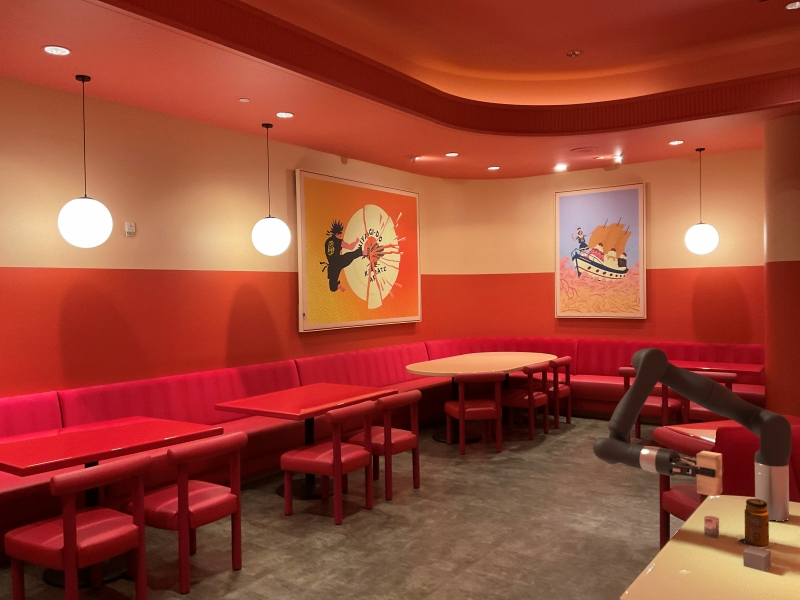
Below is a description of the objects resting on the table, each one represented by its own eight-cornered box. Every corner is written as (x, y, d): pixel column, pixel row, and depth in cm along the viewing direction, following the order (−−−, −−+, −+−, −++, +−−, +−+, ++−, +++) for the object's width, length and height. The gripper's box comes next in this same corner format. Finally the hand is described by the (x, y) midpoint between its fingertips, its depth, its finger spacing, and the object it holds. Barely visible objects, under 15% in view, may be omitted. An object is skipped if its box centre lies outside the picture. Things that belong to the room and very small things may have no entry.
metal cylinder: (707, 531, 190) (707, 514, 190) (721, 535, 187) (721, 518, 187) (702, 535, 187) (701, 518, 187) (716, 538, 184) (716, 521, 184)
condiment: (775, 544, 180) (775, 502, 180) (760, 551, 175) (759, 508, 175) (749, 536, 186) (749, 495, 186) (733, 542, 181) (733, 501, 181)
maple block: (703, 488, 182) (703, 450, 182) (722, 492, 178) (721, 453, 178) (696, 492, 179) (696, 454, 178) (715, 496, 175) (715, 457, 175)
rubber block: (749, 560, 170) (749, 545, 170) (770, 566, 166) (770, 550, 166) (743, 566, 166) (743, 551, 166) (764, 572, 162) (764, 556, 162)
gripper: (648, 452, 184) (709, 463, 171) (669, 443, 194) (728, 453, 181) (648, 478, 184) (709, 490, 171) (669, 467, 194) (729, 479, 181)
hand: (719, 471), depth 176 cm, fingers closed on maple block, 5 cm apart
